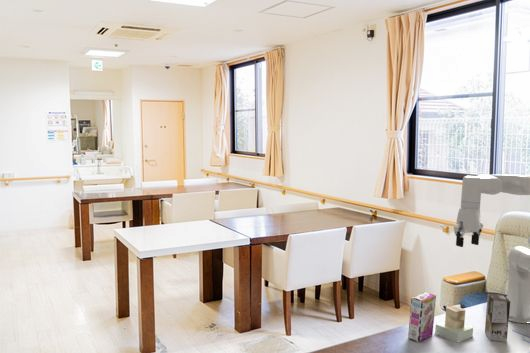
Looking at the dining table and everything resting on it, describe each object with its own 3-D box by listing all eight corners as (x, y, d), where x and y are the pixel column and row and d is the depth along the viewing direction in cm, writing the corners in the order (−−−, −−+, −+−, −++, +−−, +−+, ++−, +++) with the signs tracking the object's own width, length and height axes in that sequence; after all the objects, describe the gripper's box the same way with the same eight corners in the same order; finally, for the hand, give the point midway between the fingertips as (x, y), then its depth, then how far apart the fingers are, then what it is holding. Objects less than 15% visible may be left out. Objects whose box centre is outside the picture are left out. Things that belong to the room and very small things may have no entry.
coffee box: (507, 342, 191) (511, 301, 189) (489, 340, 192) (493, 299, 191) (501, 333, 200) (504, 294, 198) (484, 331, 201) (487, 292, 200)
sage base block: (449, 328, 203) (450, 319, 203) (472, 337, 195) (473, 327, 195) (435, 333, 198) (435, 324, 197) (457, 343, 190) (458, 333, 189)
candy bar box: (419, 343, 187) (422, 301, 186) (407, 338, 191) (410, 297, 189) (433, 335, 195) (436, 294, 194) (421, 331, 199) (424, 291, 197)
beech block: (454, 322, 199) (455, 305, 199) (464, 327, 195) (465, 310, 194) (444, 324, 197) (446, 307, 197) (454, 329, 193) (455, 311, 192)
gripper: (476, 203, 216) (473, 241, 218) (449, 204, 208) (446, 245, 209) (491, 205, 210) (488, 245, 211) (464, 207, 201) (460, 249, 203)
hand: (467, 245), depth 210 cm, fingers open, 9 cm apart
